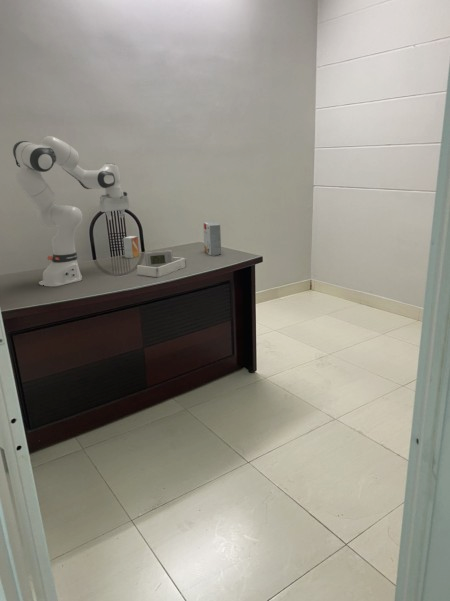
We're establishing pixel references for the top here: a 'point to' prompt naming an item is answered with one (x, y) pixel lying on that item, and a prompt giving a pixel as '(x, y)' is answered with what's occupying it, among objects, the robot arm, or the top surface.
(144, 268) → the bin
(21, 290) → the top surface
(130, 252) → the small box
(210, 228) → the hard drive box
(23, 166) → the robot arm
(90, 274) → the top surface
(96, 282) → the top surface
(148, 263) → the digital clock
